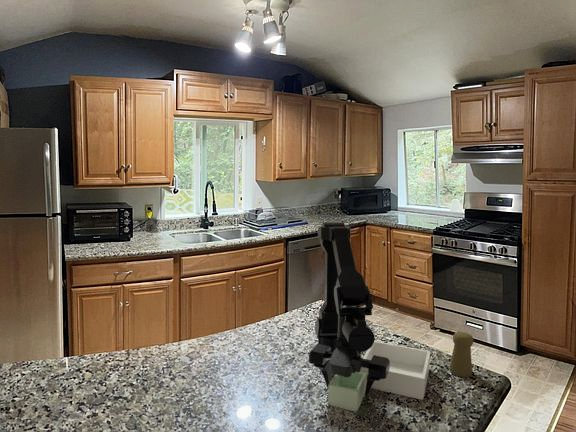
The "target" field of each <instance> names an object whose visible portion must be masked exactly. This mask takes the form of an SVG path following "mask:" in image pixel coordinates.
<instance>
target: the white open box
mask: <svg viewBox="0 0 576 432" xmlns="http://www.w3.org/2000/svg"><path fill="white" fill-rule="evenodd" d="M373 355H376V356H381V357H386V358H388V359H389V361H390V369H389V371H388V374H387V376H386V379H380V380H379V381H376V380H375V381H374V383H373V385H372V387H371V389H373V390H377V391H381V392H382V391H383V392H387V393H390V392H391V394H396V395H399V396H404V397H408V398H412V399H416V400H421V401H423V400H424V399H425V398H424V397H425V392H426V387H427V382H428V379H429V373H430V364H431V363H430V362H431V361H430V360H431V350H426V349H421V348H414V347H409V346H404V345H399V344H394V343H387V342H382V341H377V340H374V343H373V345H372V347H371V348H370V349H368V350H367V351H365V354H364V355H363V357H362V358H363V359H368V360H371V359H372V357H373ZM360 372H362V373H366V374H367V375H366V384H367V376H368V374H369V373H368V368H364V367H361V370H360Z"/></svg>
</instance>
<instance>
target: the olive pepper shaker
mask: <svg viewBox="0 0 576 432" xmlns="http://www.w3.org/2000/svg"><path fill="white" fill-rule="evenodd" d="M452 342H453V344H454V345H453V349H452V354H451V357H450V358H451V359H450V362H449V368H448V371H449V372H450V373H451V374H453V375H454V376H457V377H461V378H468V377H472V376H473V364H472V349H471V348H472V346H473V345H474V337H473V336H472V335H471V334H470V333H468V332H465V331H457V332H455V333H454V334H453V335H452Z"/></svg>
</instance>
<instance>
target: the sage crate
mask: <svg viewBox="0 0 576 432" xmlns="http://www.w3.org/2000/svg"><path fill="white" fill-rule="evenodd" d="M333 375H334V374H333ZM366 375H367V374H366V373H362V372H355V373H352V374H351V376H350V377H344V376H341V375H334V376H332V380H331V382H330V383H329V385H328V388H327V390H328V391H327V395H328V396H327V405H329V406H332V407H336V408H340V409H343V410H344V409H345V410H348V411H352V412H356V413H358V410H359V408H360V405H361V403H362V402H363V398H365V390H366Z"/></svg>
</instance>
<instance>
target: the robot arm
mask: <svg viewBox="0 0 576 432" xmlns="http://www.w3.org/2000/svg"><path fill="white" fill-rule="evenodd" d="M317 237H318V239H319V244H320V246H321V248H322V249H323V252H324V302H323V303H322V305H321V307H320V308H319V310H318V317H316V320H315V323H314V333H315V335H316V338H317V341H318V343H317V344H316V345H314V346H313V347H312V349H311V350H310V351H309V353H308V363H309V364H312V365H313V366H314V368H317V369H319V370H320V372H321V374H322V376H323V379H324V382H325V385H326V387H327V389H328V385H329V383H330V382H331V380H332V378H333V376H332V375H341V376H344V377H350V376H351V374H352V373H355V372H360V370H361V367H364V368H368V373H369V374H368V376H367V384H366V390H365V395H364V399H365V400H367V398H368V397H369V394H370V391H371V389H372V388H371V387H372V385H373V383H374V381H375V380H376V381H379V380H380V379H386V376H387V374H388V371H389V369H390V361H389V359H388V358H386V357H381V356H376V355H373V357H372V359H371V360H368V359H363V357H362V353H363V352H367V350H368V349H370V348H371V347H372V345H373V343H374V341H376V340H375V334H374V332H373V330H372V329H371V328H370V326H369V325H368V323H367V320H366V316H373V308H374V305H373V301H372V300H373V299H372V294H371V291H370V290H369V286H368V285H367V284H366V282H365V278H364V275H362V273H361V272H359V271H358V270H357V267H356V261H355V257H354V253H353V248H352V244H351V226H347V225H345V223H344V222H342V221H340V222H339V221H338V222H330V221H329V222H328V221H326V222H322V223H321V225H320V226H318V227H317ZM364 305H365V306H364Z"/></svg>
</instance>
